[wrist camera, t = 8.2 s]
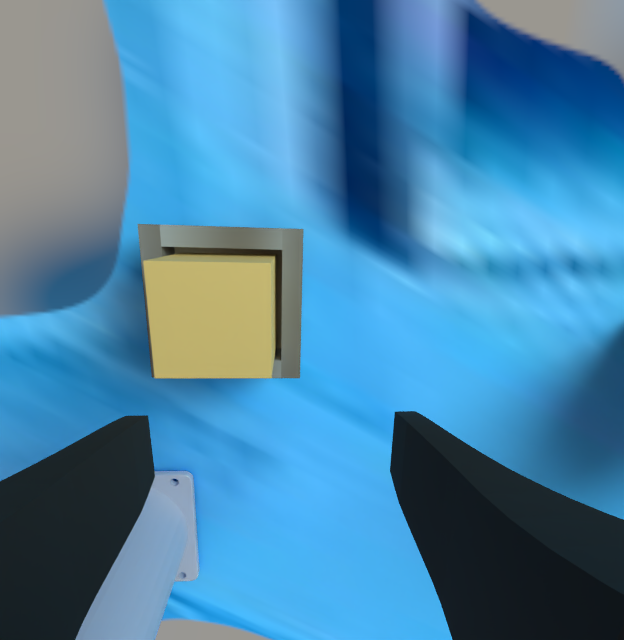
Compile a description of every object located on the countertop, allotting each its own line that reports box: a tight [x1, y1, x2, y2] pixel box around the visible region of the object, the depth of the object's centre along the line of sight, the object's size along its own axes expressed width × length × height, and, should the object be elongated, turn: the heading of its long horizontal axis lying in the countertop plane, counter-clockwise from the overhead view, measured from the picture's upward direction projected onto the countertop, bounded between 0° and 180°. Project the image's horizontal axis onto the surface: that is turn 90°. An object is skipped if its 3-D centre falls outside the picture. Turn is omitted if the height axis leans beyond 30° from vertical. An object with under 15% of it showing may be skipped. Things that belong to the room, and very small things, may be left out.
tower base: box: [138, 224, 303, 378], centre depth 16 cm, size 6×6×4 cm
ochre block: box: [143, 253, 277, 378], centre depth 13 cm, size 4×4×4 cm
